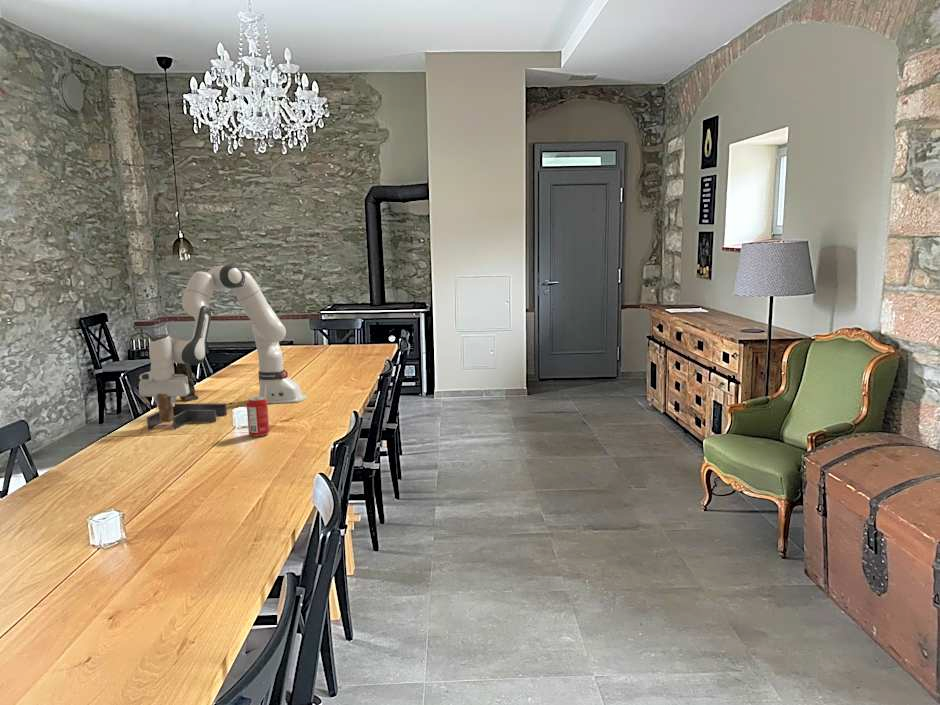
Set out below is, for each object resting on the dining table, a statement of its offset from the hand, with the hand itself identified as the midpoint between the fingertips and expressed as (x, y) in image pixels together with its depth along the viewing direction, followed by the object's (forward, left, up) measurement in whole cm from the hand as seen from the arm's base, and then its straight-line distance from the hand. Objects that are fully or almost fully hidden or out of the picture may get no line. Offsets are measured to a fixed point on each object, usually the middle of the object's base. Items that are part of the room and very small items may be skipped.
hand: (165, 406), depth 303 cm
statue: (+13, -47, -8) cm, 50 cm away
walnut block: (0, 0, -6) cm, 6 cm away
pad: (0, 0, -8) cm, 8 cm away
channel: (-6, -7, -8) cm, 12 cm away
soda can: (-44, +13, -8) cm, 47 cm away
